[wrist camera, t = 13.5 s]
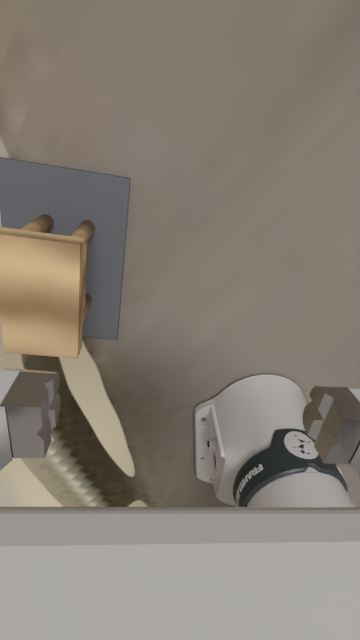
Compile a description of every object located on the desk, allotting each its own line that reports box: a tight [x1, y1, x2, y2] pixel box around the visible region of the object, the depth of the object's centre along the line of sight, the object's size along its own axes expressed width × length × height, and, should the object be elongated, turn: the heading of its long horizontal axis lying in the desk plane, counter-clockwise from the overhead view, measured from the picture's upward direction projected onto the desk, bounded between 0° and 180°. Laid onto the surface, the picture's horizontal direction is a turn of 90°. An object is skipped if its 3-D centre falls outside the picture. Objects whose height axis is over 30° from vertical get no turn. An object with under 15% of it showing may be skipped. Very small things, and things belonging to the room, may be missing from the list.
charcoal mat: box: [0, 157, 130, 339], centre depth 35 cm, size 18×12×1 cm, turn 171°
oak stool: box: [0, 214, 95, 358], centre depth 30 cm, size 10×6×10 cm, turn 171°
